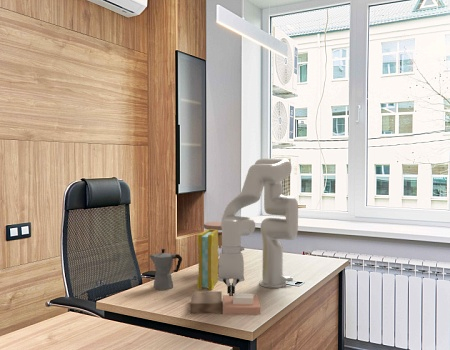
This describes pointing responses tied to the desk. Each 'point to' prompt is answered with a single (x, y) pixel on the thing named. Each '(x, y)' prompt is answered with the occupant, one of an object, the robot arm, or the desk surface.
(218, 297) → the deck
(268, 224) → the robot arm
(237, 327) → the desk surface
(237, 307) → the mat
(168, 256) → the coffeepot
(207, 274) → the book
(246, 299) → the tile
